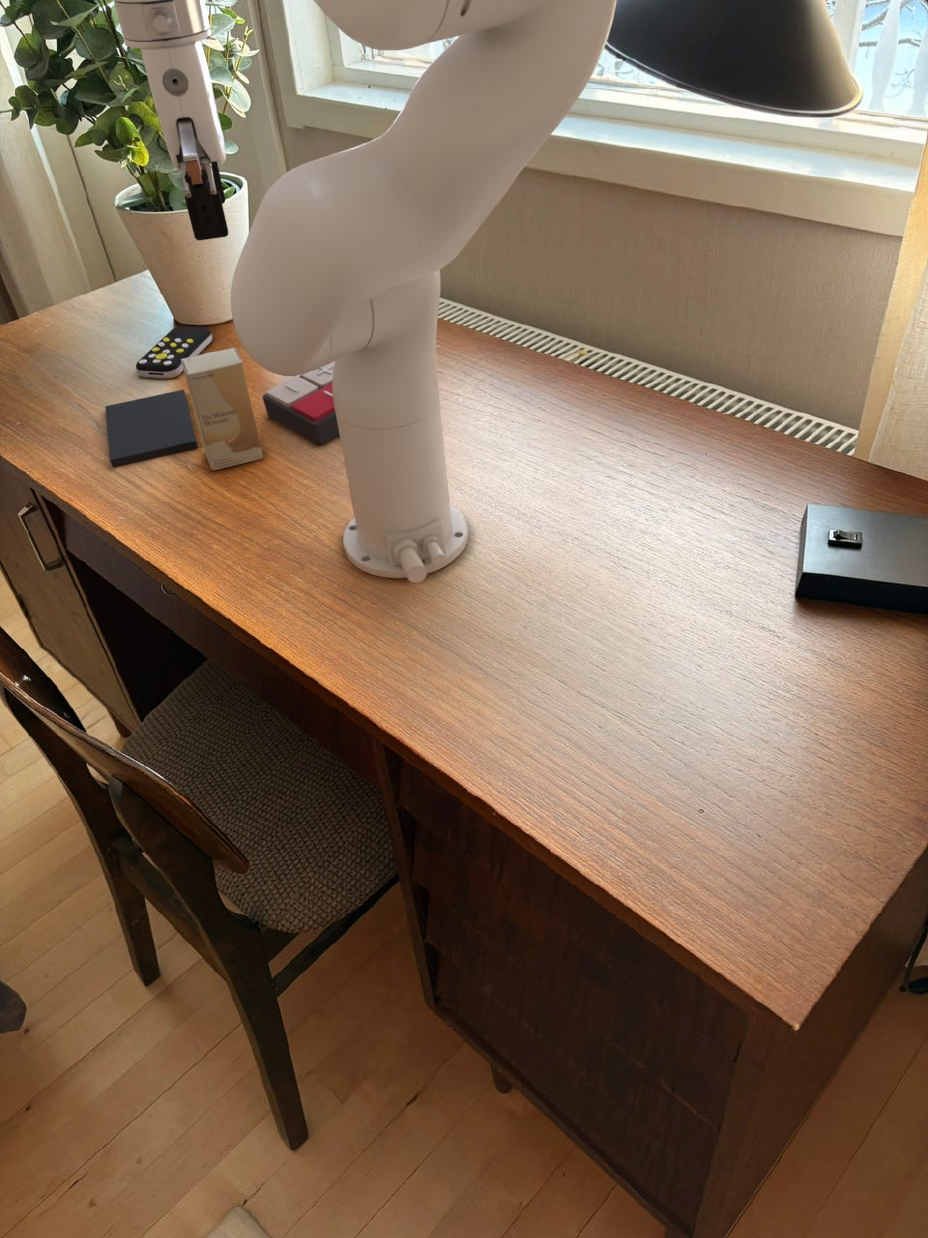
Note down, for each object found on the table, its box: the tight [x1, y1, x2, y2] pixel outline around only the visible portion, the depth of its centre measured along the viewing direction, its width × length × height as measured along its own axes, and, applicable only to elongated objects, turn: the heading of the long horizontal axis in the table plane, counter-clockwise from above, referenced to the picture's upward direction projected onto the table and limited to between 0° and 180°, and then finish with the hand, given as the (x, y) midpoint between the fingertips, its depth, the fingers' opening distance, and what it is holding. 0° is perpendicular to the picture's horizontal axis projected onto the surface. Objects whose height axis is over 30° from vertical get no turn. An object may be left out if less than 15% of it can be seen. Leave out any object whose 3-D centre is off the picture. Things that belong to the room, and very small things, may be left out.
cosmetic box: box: [181, 347, 264, 471], centre depth 106 cm, size 6×4×12 cm
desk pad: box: [104, 389, 199, 468], centre depth 116 cm, size 14×10×1 cm
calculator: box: [262, 361, 340, 446], centre depth 116 cm, size 11×4×15 cm
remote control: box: [135, 325, 213, 380], centre depth 131 cm, size 6×13×2 cm, turn 166°
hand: (211, 220), depth 94 cm, fingers open, 9 cm apart
